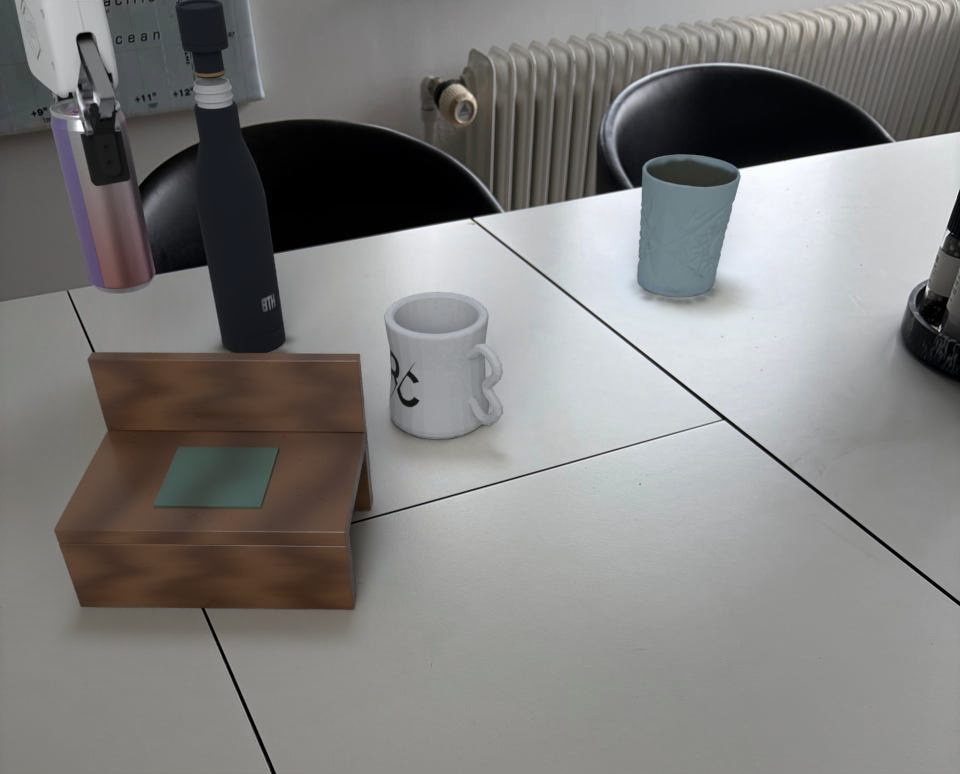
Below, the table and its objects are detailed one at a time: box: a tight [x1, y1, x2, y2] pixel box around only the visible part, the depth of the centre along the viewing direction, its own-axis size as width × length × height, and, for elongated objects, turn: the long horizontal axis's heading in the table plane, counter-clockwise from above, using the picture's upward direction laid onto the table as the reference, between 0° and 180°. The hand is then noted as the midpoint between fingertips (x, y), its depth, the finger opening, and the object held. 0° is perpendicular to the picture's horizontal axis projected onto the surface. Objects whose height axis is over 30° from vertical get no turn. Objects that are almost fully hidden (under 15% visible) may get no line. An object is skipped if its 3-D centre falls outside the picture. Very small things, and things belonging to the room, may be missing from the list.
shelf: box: [53, 351, 374, 611], centre depth 76 cm, size 20×14×13 cm
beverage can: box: [49, 98, 156, 295], centre depth 91 cm, size 6×6×15 cm
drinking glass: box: [636, 153, 742, 298], centre depth 113 cm, size 10×10×12 cm
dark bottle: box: [174, 0, 286, 353], centre depth 96 cm, size 6×6×30 cm
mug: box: [383, 291, 504, 440], centre depth 91 cm, size 12×9×10 cm
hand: (98, 168), depth 89 cm, fingers closed on beverage can, 6 cm apart
